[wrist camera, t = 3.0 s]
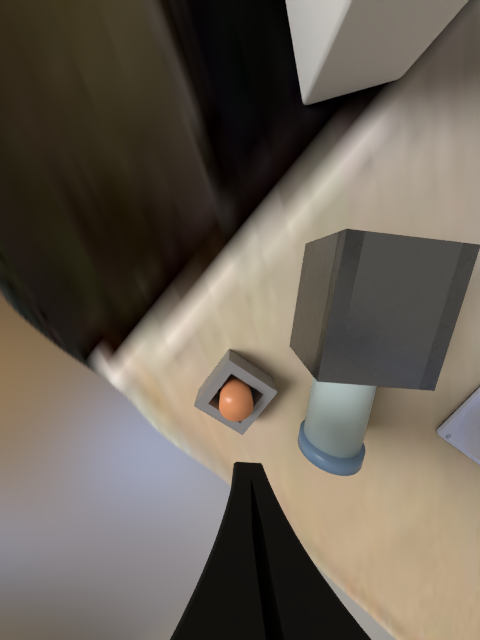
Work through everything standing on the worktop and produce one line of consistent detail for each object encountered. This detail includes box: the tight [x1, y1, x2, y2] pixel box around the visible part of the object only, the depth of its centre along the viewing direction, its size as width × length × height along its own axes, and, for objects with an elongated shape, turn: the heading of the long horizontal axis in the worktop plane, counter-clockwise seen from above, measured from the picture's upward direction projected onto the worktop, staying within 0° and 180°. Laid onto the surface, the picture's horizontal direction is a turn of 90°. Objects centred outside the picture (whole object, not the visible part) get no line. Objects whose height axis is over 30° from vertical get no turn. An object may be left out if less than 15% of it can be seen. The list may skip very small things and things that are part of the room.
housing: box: [290, 229, 480, 391], centre depth 16 cm, size 9×7×6 cm
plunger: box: [219, 374, 253, 421], centre depth 18 cm, size 3×3×3 cm
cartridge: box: [298, 377, 377, 476], centre depth 17 cm, size 15×5×5 cm, turn 174°
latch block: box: [194, 349, 278, 435], centre depth 19 cm, size 5×5×2 cm
